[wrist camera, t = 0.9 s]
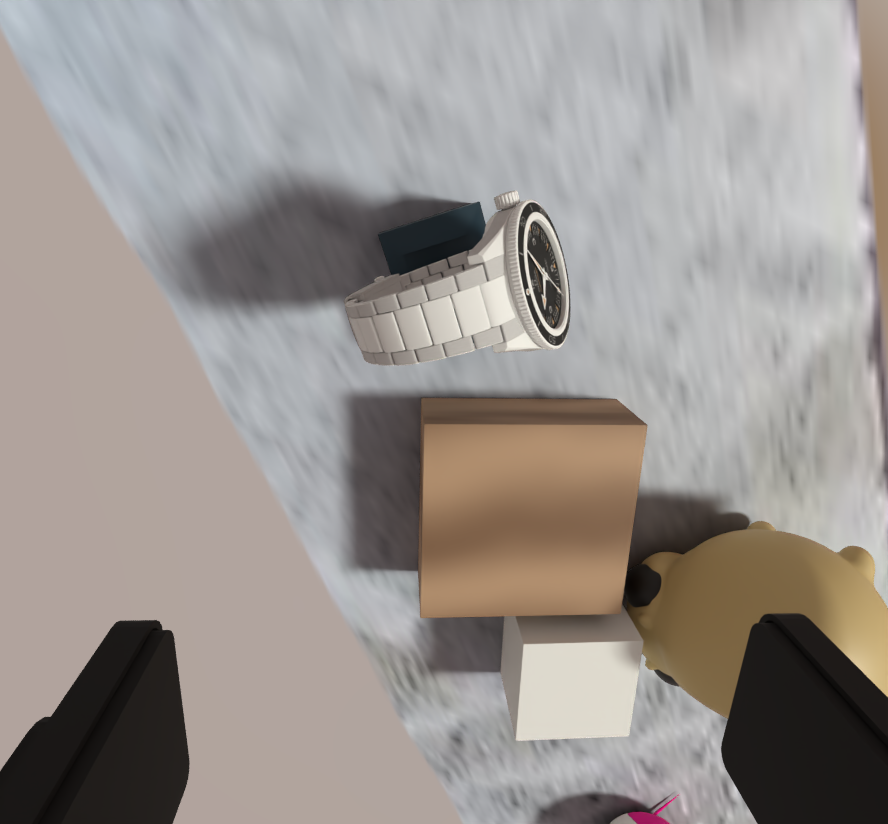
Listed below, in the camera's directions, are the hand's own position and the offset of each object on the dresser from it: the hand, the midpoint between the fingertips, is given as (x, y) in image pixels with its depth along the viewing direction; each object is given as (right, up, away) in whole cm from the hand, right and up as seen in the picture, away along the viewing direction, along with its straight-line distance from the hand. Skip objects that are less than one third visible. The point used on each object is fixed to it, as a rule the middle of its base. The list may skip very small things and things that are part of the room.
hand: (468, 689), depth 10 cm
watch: (0, +11, +18) cm, 22 cm away
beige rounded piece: (+15, -5, +25) cm, 29 cm away
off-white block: (+6, -8, +25) cm, 27 cm away
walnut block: (+3, 0, +22) cm, 22 cm away
